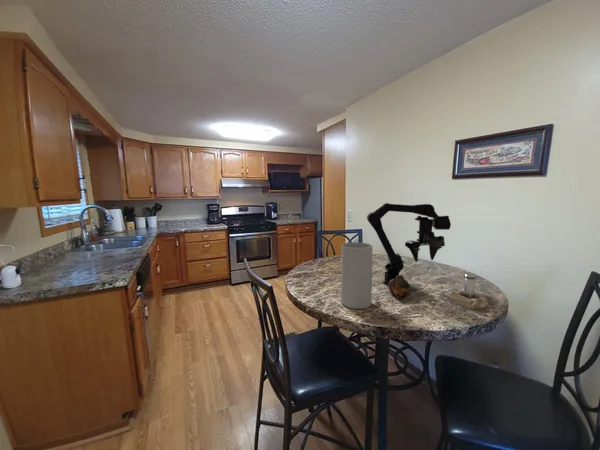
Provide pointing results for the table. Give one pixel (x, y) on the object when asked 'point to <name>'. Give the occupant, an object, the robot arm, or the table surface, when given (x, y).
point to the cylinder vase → (356, 275)
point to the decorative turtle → (399, 286)
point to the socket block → (469, 300)
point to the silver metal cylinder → (469, 285)
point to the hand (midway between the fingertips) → (424, 260)
